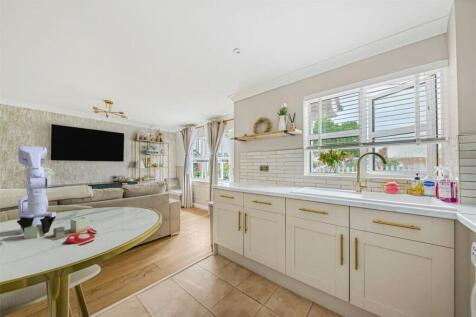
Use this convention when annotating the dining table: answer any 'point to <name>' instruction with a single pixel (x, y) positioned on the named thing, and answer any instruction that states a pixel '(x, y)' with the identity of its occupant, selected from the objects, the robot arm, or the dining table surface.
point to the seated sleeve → (80, 224)
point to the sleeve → (34, 231)
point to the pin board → (62, 233)
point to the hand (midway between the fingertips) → (37, 233)
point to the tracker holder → (81, 237)
